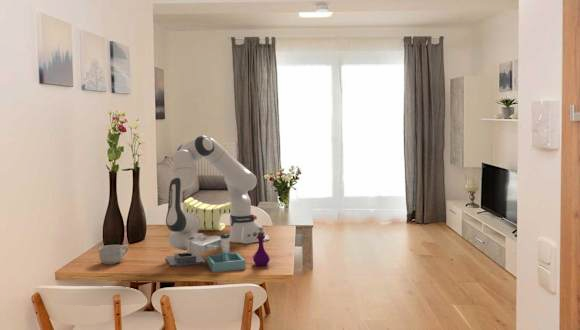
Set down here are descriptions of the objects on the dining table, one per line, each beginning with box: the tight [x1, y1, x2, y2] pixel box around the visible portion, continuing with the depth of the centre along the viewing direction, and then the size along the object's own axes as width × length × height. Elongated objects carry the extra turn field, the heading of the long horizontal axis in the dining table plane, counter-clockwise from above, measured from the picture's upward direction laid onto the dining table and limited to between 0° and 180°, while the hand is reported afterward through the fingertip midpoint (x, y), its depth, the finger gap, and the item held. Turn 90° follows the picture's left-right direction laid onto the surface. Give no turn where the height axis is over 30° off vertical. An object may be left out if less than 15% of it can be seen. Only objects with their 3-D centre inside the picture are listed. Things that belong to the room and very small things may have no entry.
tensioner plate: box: [165, 251, 206, 268], centre depth 283 cm, size 16×16×3 cm
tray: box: [205, 252, 247, 273], centre depth 273 cm, size 15×15×4 cm
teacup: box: [98, 244, 129, 265], centre depth 281 cm, size 14×11×8 cm
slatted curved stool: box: [182, 196, 231, 232], centre depth 354 cm, size 30×16×18 cm, turn 83°
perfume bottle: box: [252, 226, 271, 267], centre depth 273 cm, size 8×8×18 cm
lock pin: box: [219, 232, 231, 262], centre depth 272 cm, size 4×4×14 cm
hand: (222, 245), depth 272 cm, fingers open, 8 cm apart
